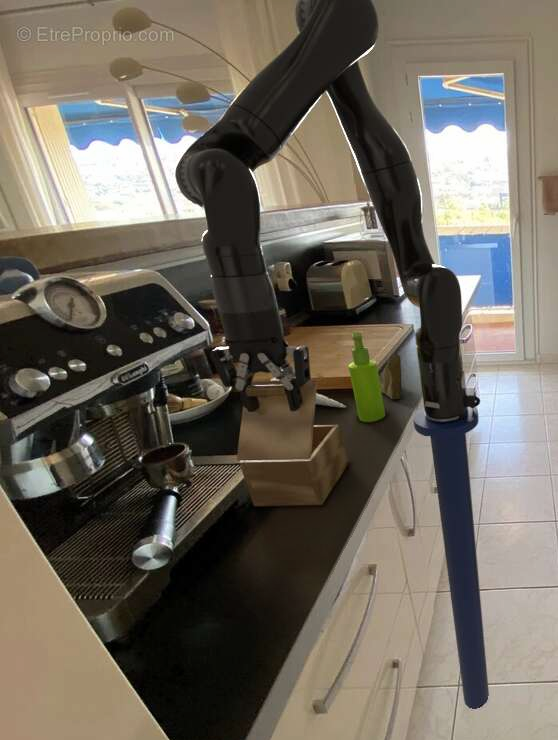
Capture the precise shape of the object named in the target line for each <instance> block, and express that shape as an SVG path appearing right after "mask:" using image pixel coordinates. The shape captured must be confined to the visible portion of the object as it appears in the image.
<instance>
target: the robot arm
mask: <svg viewBox="0 0 558 740" xmlns="http://www.w3.org/2000/svg"><path fill="white" fill-rule="evenodd" d="M294 12H295V13H294V16H295V23H296V28H297V31H298V34H297V35H296V36H295V38H294V39H293V40H292V41H291V42H290V43H289V44H288V45H287V47H285V48H284V49H283V50H282V51H281V52H280V53H279V54H278V55H276V57H275V58H273V59H272V60H271V61H270V62H269V63H268V64H267V65H266V66H265V67H263V68H262V69H261V70H260V71H259V72H258V73H257V74H256V75H255V76H254V77H253V78H252V79H251V80H250V81H249V82H248V83H247V84H246V86H244V88H243V89H242V90H241V91H240V92H239V94H238V95H237V96H236V97H235V98H234V100H233V101H232V102H231V104H230V105H229V106H228V108H226V110H225V112H224V113H223V115H222V116H221V117H220V119H219V120H218V121H217V122H216V123H214V125H212V126H211V127H210V128H208V129H207V130H206V131H205V132H204V133H203V134H202V135H200V137H198V138H197V139H196V140H195V141H194V142H193V143H192V144H191V145H190V146H189V147H188V148H187V149H186V150H185V151H184V152H183V153H182V154H181V156H180V157H179V159H178V160H177V162H176V165H175V168H174V179H175V180H174V181H175V183H176V186H177V188H178V190H179V191H180V194H182V196H183V197H185V198H186V200H188V201H189V202H190V203H191V204H194V205H195V206H198V207H201V208H203V209H204V215H205V220H206V227H207V228H206V229H207V230H206V231H204V233H203V234H202V236H201V246H202V250H203V255H204V257H205V261H206V264H207V268H208V272H209V275H210V279H211V287H212V294H213V298H214V301H215V305H216V309H217V311H218V315H219V318H220V322H221V325H222V326H221V327H222V329H223V333H224V336H225V338H226V340H227V341H229V343H228V346H224V345H220V346H219V347H215V348H214V349H212V350H210V351H209V356H210V359H211V360H212V363H213V365H214V367H215V369H216V372H217V375H218V376H219V378H220V381H221V383H222V386H223V387H225V388H230V387H232V388H234V389H235V390H237V391H238V392H239V395H240V399H241V402H242V407H243V406H244V407H245V409H246V408H247V411H248V412H254V411H256V410H257V409H258V408H259V402H258V398H257V397H249V396H247V394H246V387H247V386H248V385H251V384H252V382H253V381H254V378H255V374H257V373H260V372H262V373H265V374H272V376H273V377H274V378H276V379H279V380H280V381H281V383H282V384H283V385H284V387H285V388H286V389H287V390H286V395H287V400H288V404H289V408H290V411H297V410H298V409H299V408H300V406H301V405H302V404H303V399H302V395H301V390H300V386H303V385H304V384H305V383H307V382H308V381H309V380H312V379H311V364H310V353H309V352H310V351H309V347H308V346H307V345H306V344H302V345H300V346H295V345H294V346H293V345H289V344H288V342H287V341H286V340H285V337H284V335H285V334H284V328H283V323H282V318H281V313H280V310H279V306H278V305H279V304H278V302H277V301H278V300H277V297H276V292H275V288H274V285H273V283H272V280H271V277H270V275H269V272H268V271H269V270H268V267H267V261H266V257H265V253H264V250H263V246H262V243H261V231H262V230H261V229H262V227H261V226H262V224H261V223H262V221H261V220H262V219H261V216H262V215H261V199H260V198H261V197H260V192H259V186H258V183H257V181H256V178H255V175H254V174H253V173H254V172H255V171H256V170H257V169H258V168H259V167H261V166H263V165H265V164H268V163H270V162H271V161H273V160H274V159H275V158H276V157H277V156H278V155H279V154H280V152H281V151H282V149H283V148H284V147H285V145H287V143H288V141H289V140H290V139H291V138H292V136H293V135H294V133H295V132H296V131H297V129H298V128H299V126H300V125H301V123H303V121H304V120H305V118H306V117H307V115H308V114H309V113H310V111H312V109H313V107H314V106H315V105H316V103H318V101H319V100H320V98H321V97H322V96H323V95H324V94H325V92H326V94H327V96H328V97H329V99H330V102H331V104H332V106H333V108H334V111H335V114H336V116H337V119H338V121H339V124H340V126H341V128H342V130H343V131H342V132H343V133H344V135H345V138H346V140H347V143H348V145H349V148H350V150H351V153H352V155H353V158H354V160H355V163H356V166H357V169H358V172H359V174H360V177H361V179H362V183H363V185H364V186H365V189H366V192H367V194H368V195H367V196H368V197H369V199H370V201H371V204H372V206H373V209H374V211H375V213H376V216H377V218H378V221H379V223H380V226H381V229H382V230H383V233H384V235H385V237H386V239H387V242H388V244H389V247H390V250H391V253H392V256H393V260H394V263H395V266H396V269H397V274H398V277H399V280H400V284H401V287H402V290H403V293H404V295H405V297H406V298H407V300H408V301H409V303H411V304H412V305H413V306H415V307H417V308H419V317H420V327H419V328H417V329H416V330H415V332H414V339H415V347H416V354H417V362H418V370H419V379H420V386H421V393H422V400H423V407H424V410H425V418H426V419H427V420H428V421H430V422H433V423H451V422H455V421H458V420H464V419H465V416H466V413H467V407H471V408H474V407H476V408H477V407H478V406H479V405H480V404H481V398H479V397H478V396H477V392H476V387H466V374H465V371H464V369H463V359H462V350H461V349H462V347H461V331H462V328H463V304H462V302H463V301H462V289H461V285H460V281H459V279H458V277H457V275H456V274H455V272H454V271H452V269H450V268H447V267H445V266H441V265H437V264H436V263H435V261H434V259H433V256H432V254H431V251H430V249H429V246H428V244H427V241H426V238H425V234H424V227H423V200H422V199H423V198H422V191H421V187H420V182H419V179H418V176H417V172H416V170H415V166H414V163H413V161H412V157H411V155H410V153H409V150H408V149H407V146H406V144H405V143H404V141H403V140H402V138H401V136H400V135H399V134H398V132H397V131H396V130H395V128H394V127H393V125H392V124H391V123H390V122H389V121H388V120H387V118H386V117H385V116H384V114H383V113H382V112H381V111H380V110H379V108H378V107H377V105H376V103H375V101H374V100H373V98H372V96H371V94H370V92H369V90H368V87H367V84H366V81H365V78H364V76H363V72H362V70H361V67H360V64H359V61H358V60H359V59H360V58H362V57H364V56H365V55H367V54H368V53H369V52H370V51H371V50H372V49H373V48H374V47H375V45H376V42H377V39H378V36H379V30H380V29H379V26H380V24H379V17H378V14H377V9H376V7H375V5H374V2H373V1H372V0H297V1H296V5H295V9H294ZM287 356H289V357H290V360H291V361H293V366H292V365H291V364H290V362H289V361H288V360H287V359H286V358H287ZM233 358H234V359H235V360H236V361H237V362H238V366H237V368H236V365H235V364H234V361H233ZM293 367H294V369H293ZM280 368H281V369H280Z"/></svg>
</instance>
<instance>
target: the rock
mask: <svg viewBox="0 0 558 740" xmlns="http://www.w3.org/2000/svg"><path fill="white" fill-rule="evenodd" d="M380 387H381V392H382V393H383V394H384V395H386V396H387V397H389V398H390V399H391V400H400V399H401V398H402V362H401V355H399V354H398V353H396V352H392V354H390V356H389V359H388V361H387V363H386V365H385V366H384V369H383V370H382V372H381V375H380Z"/></svg>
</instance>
